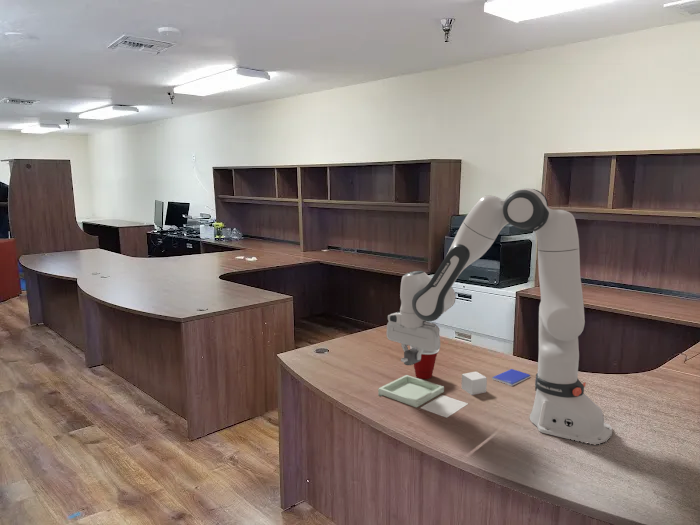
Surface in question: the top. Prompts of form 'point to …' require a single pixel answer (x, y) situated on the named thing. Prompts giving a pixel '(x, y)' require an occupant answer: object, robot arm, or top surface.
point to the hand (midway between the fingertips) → (412, 357)
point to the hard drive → (511, 377)
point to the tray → (411, 390)
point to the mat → (444, 406)
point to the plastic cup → (425, 364)
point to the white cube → (474, 383)
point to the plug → (410, 357)
